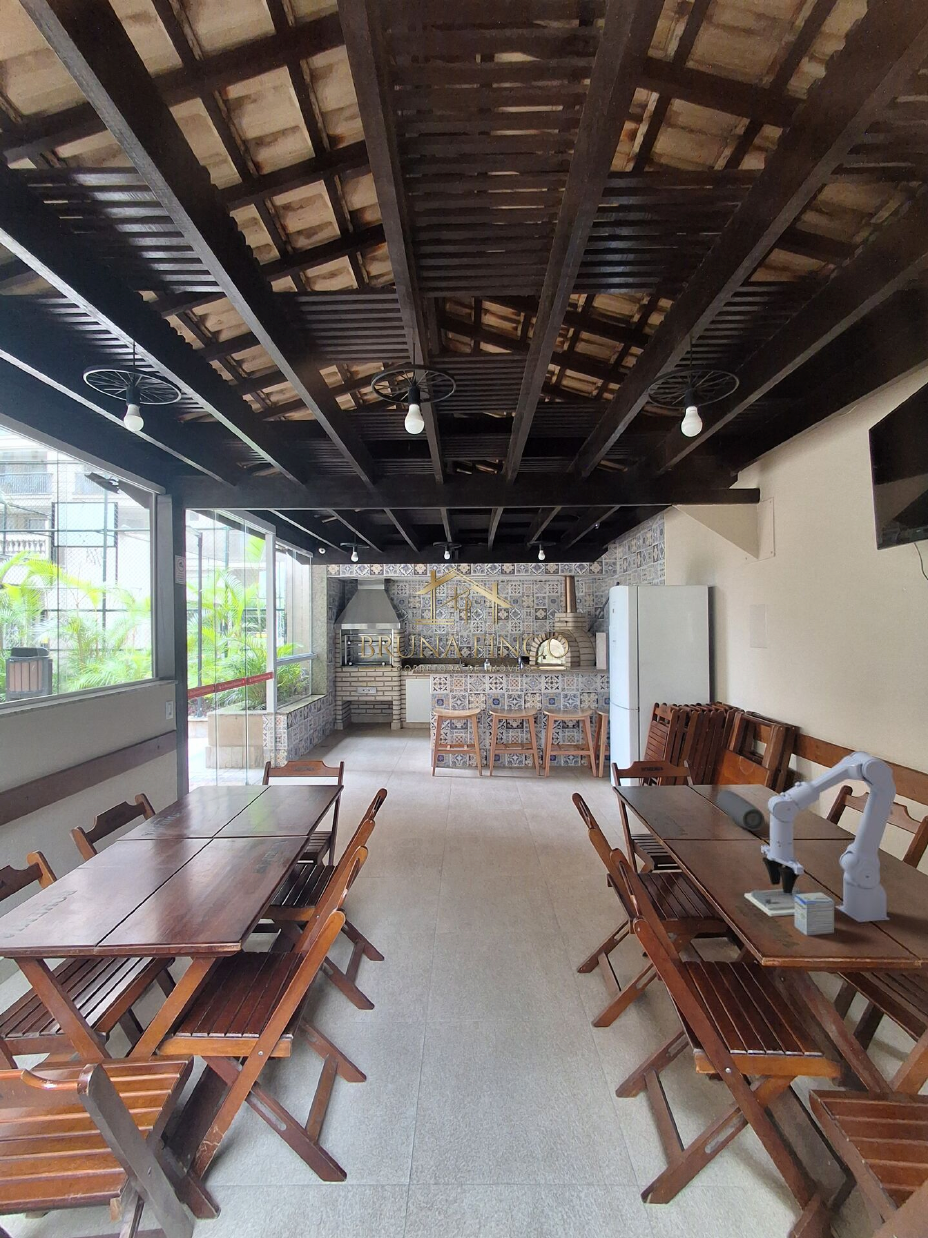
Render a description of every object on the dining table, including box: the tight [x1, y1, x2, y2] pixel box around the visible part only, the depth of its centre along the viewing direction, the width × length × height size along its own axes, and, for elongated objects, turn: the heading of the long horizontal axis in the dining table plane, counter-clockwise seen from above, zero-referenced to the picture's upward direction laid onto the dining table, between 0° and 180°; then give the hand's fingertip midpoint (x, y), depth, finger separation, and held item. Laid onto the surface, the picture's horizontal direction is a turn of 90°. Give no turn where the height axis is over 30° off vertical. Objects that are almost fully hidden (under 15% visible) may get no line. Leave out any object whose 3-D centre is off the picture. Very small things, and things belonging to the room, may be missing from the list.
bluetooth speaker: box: [715, 789, 766, 831], centre depth 218 cm, size 23×9×10 cm, turn 179°
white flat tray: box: [744, 886, 807, 917], centre depth 156 cm, size 15×11×3 cm
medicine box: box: [794, 892, 835, 936], centre depth 143 cm, size 8×4×9 cm, turn 98°
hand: (781, 888), depth 156 cm, fingers open, 4 cm apart
